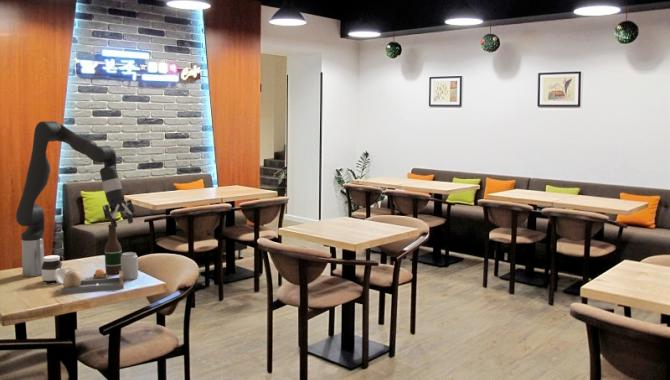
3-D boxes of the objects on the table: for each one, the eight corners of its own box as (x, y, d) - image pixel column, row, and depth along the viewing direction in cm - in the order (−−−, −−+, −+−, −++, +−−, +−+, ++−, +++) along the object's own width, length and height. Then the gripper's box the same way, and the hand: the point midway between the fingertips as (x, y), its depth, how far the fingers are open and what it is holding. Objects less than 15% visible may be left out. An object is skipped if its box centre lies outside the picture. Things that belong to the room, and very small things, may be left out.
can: (133, 280, 288) (132, 255, 286) (118, 280, 289) (117, 254, 288) (141, 276, 295) (140, 251, 294) (126, 275, 297) (125, 251, 295)
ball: (95, 278, 284) (94, 270, 283) (95, 276, 288) (95, 268, 287) (104, 278, 285) (104, 269, 285) (104, 275, 289) (104, 267, 288)
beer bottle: (126, 272, 302) (124, 223, 299) (112, 276, 296) (110, 226, 293) (115, 270, 307) (113, 222, 304) (102, 273, 300) (99, 224, 297)
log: (63, 291, 269) (62, 275, 268) (65, 286, 277) (64, 270, 276) (81, 289, 271) (80, 274, 270) (82, 284, 279) (81, 269, 278)
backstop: (119, 288, 275) (119, 276, 275) (119, 282, 286) (119, 270, 285) (123, 288, 276) (123, 276, 275) (123, 281, 286) (122, 269, 285)
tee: (93, 283, 283) (92, 277, 282) (93, 280, 288) (93, 274, 288) (107, 282, 285) (106, 276, 284) (107, 279, 290) (107, 273, 290)
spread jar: (48, 279, 291) (46, 254, 290) (73, 278, 292) (71, 254, 291) (38, 286, 279) (36, 260, 278) (64, 285, 280) (63, 260, 279)
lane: (62, 293, 268) (61, 288, 267) (64, 286, 278) (63, 282, 278) (119, 288, 275) (119, 283, 275) (119, 282, 286) (119, 277, 285)
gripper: (121, 189, 284) (130, 223, 285) (94, 194, 272) (104, 230, 273) (131, 185, 280) (141, 220, 281) (105, 190, 268) (115, 227, 269)
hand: (123, 225), depth 277 cm, fingers open, 8 cm apart
